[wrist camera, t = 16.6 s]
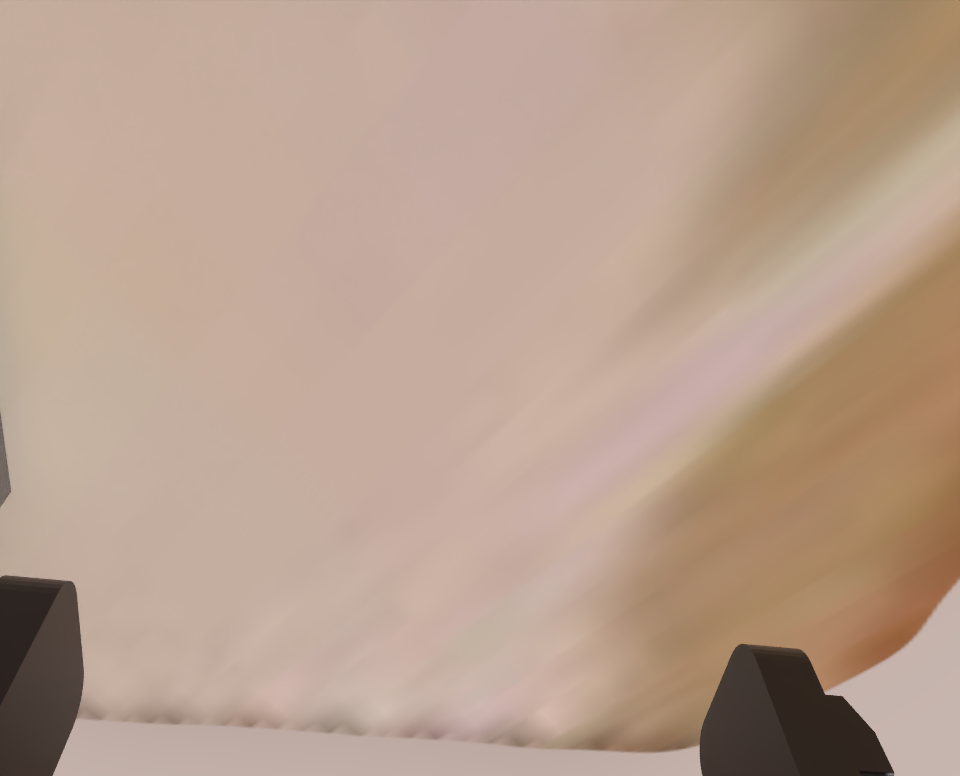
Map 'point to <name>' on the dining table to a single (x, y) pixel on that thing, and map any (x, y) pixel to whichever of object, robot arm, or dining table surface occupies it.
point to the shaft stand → (3, 470)
